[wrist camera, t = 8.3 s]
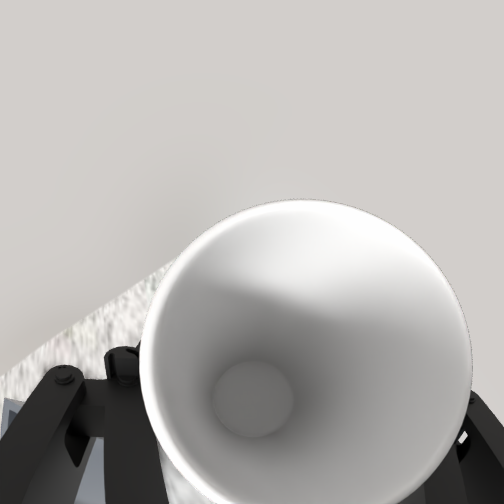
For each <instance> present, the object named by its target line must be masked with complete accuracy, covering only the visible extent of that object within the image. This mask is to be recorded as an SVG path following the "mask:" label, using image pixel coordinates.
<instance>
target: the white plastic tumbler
mask: <svg viewBox="0 0 504 504" xmlns="http://www.w3.org/2000/svg"><path fill="white" fill-rule="evenodd" d="M472 369H473V366H472V349H471V341H470V336H469V331H468V327H467V323H466V320H465V317H464V313H463V311H462V308H461V306H460V303H459V301H458V299H457V296H456V295H455V292H454V290H453V288H452V287H451V285H450V283H449V282H448V280H447V278H446V277H445V275H444V274H443V272H442V271H441V270H440V268H439V267H438V266H437V264H436V263H435V262H434V261H433V259H432V258H431V257H430V256H429V255H428V254H427V253H426V252H425V251H424V250H423V249H422V248H421V247H420V246H419V245H418V244H417V243H416V242H415V241H413V239H411V238H410V237H409V236H407V235H406V234H405V233H404V232H402V231H401V230H399V229H398V228H396V227H394V226H393V225H392V224H390V223H388V222H386V221H385V220H383V219H381V218H379V217H377V216H375V215H373V214H371V213H368V212H366V211H363V210H361V209H358V208H355V207H352V206H348V205H345V204H341V203H336V202H331V201H325V200H315V199H290V200H280V201H273V202H268V203H264V204H260V205H256V206H253V207H250V208H247V209H244V210H242V211H239V212H237V213H235V214H233V215H230V216H228V217H226V218H225V219H223V220H221V221H219V222H217V223H216V224H214V225H213V226H211V227H210V228H208V229H207V230H206V231H204V232H203V233H202V234H200V235H199V236H198V237H197V238H196V239H194V240H193V241H192V242H191V243H190V244H189V245H188V246H187V247H186V248H185V249H184V250H183V251H182V252H181V253H180V254H179V256H178V257H177V258H176V259H175V261H174V262H173V263H172V265H171V266H170V267H169V269H168V270H167V272H166V273H165V275H164V277H163V278H162V280H161V281H160V283H159V285H158V287H157V289H156V291H155V293H154V296H153V298H152V300H151V303H150V306H149V309H148V311H147V314H146V318H145V322H144V326H143V331H142V336H141V344H140V358H139V372H140V382H141V390H142V395H143V400H144V404H145V408H146V412H147V415H148V417H149V420H150V423H151V426H152V428H153V431H154V433H155V435H156V437H157V439H158V441H159V443H160V445H161V447H162V448H163V450H164V451H165V453H166V454H167V456H168V457H169V459H170V460H171V462H172V463H173V465H174V466H175V467H176V468H177V470H178V471H179V472H180V473H181V474H182V475H183V476H184V478H185V479H186V480H187V481H188V482H189V483H190V484H191V485H192V486H194V487H195V488H196V489H197V490H198V491H199V492H200V493H201V494H203V495H204V496H205V497H207V498H208V499H210V500H211V501H212V502H214V503H215V504H398V503H400V502H401V501H403V500H404V499H405V498H407V497H408V496H409V495H410V494H412V493H413V492H414V491H415V490H417V489H418V488H419V487H420V486H421V485H422V484H423V483H424V482H425V481H426V480H427V479H428V478H429V477H430V476H431V475H432V473H433V472H434V471H435V470H436V469H437V468H438V466H439V465H440V464H441V462H442V461H443V459H444V458H445V456H446V455H447V453H448V452H449V450H450V448H451V447H452V445H453V443H454V441H455V439H456V437H457V435H458V433H459V430H460V428H461V426H462V423H463V420H464V417H465V414H466V411H467V407H468V403H469V398H470V392H471V385H472Z"/></svg>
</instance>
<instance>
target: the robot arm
mask: <svg viewBox="0 0 504 504" xmlns="http://www.w3.org/2000/svg"><path fill="white" fill-rule="evenodd" d="M140 344H141V340H140V342H139V343H138V345H137V347H136V348H134V347H128V346H122V347H116V348H113V349H111V350H109V351H108V352H106V354H105V356H104V362H105V369H106V375H107V379H103V380H94V379H84V376H83V373H82V372H81V371H80V370H79V369H78V368H76V367H74V366H70V365H60V366H56V367H53V368H51V369H50V370H49V371H48V372H47V373H46V374H45V376H44V377H43V378H42V380H41V381H40V382H39V384H38V385H37V387H36V388H35V389H34V391H33V392H32V393H31V395H30V396H29V398H28V399H27V401H26V402H25V403H24V405H23V406H22V408H21V409H20V411H19V412H18V414H17V415H16V417H15V418H14V419H13V421H12V422H11V424H10V426H9V427H8V429H7V430H6V432H5V433H4V435H3V436H2V438H1V440H0V504H74V502H75V499H76V496H77V493H78V489H79V486H80V483H81V480H82V477H83V474H84V471H85V469H86V466H87V463H88V460H89V457H90V454H91V452H92V449H93V446H94V443H95V441H96V438H97V437H104V490H105V504H169V501H168V497H167V493H166V488H165V484H164V479H163V474H162V469H161V464H160V459H159V453H158V447H157V441H156V435H155V433H154V431H153V428H152V426H151V423H150V420H149V417H148V415H147V412H146V408H145V404H144V400H143V395H142V390H141V382H140V372H139V358H140ZM464 431H465V432H466V433H467V435H468V436H467V438H466V439H465V440H464V442H463V443H462V444H461V443H460V442H459V441H458V439H459V438H460V437H461V435H462V434H463V432H464ZM398 504H504V427H503V425H502V424H501V423H500V422H499V420H498V419H497V418H496V416H495V415H494V414H493V413H492V411H491V410H490V409H489V408H488V406H487V405H486V404H485V403H484V401H483V400H482V399H481V398H480V397H479V396H478V395H477V394H476V393H475V392H473V391H472V390H471V392H470V398H469V403H468V407H467V411H466V414H465V417H464V420H463V423H462V426H461V428H460V430H459V433H458V435H457V437H456V439H455V441H454V443H453V445H452V447H451V448H450V450H449V452H448V453H447V455H446V456H445V458H444V459H443V461H442V462H441V464H440V465H439V466H438V468H437V469H436V470H435V471H434V472H433V473H432V475H431V476H430V477H429V478H428V479H427V480H426V481H425V482H424V483H423V484H422V485H421V486H420V487H419V488H418V489H417V490H415V491H414V492H413V493H412V494H410V495H409V496H408V497H407V498H405V499H404V500H403V501H401V502H400V503H398Z"/></svg>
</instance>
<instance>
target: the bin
mask: <svg viewBox="0 0 504 504" xmlns="http://www.w3.org/2000/svg"><path fill="white" fill-rule="evenodd" d="M24 403H25V402H22V401H17V400H13V399H8V398H4V405H3V414H2V424H1V437H0V440H1V438H2V436H3V435H4V433H5V432H6V430H7V429H8V427H9V426H10V424H11V422H12V421H13V419H14V418H15V417H16V415H17V414H18V412H19V411H20V409H21V408H22V406H23V405H24ZM74 504H105V490H104V437H97V438H96V441H95V443H94V446H93V449H92V452H91V454H90V457H89V460H88V463H87V466H86V469H85V471H84V474H83V477H82V480H81V483H80V486H79V489H78V493H77V496H76V499H75V502H74Z"/></svg>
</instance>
